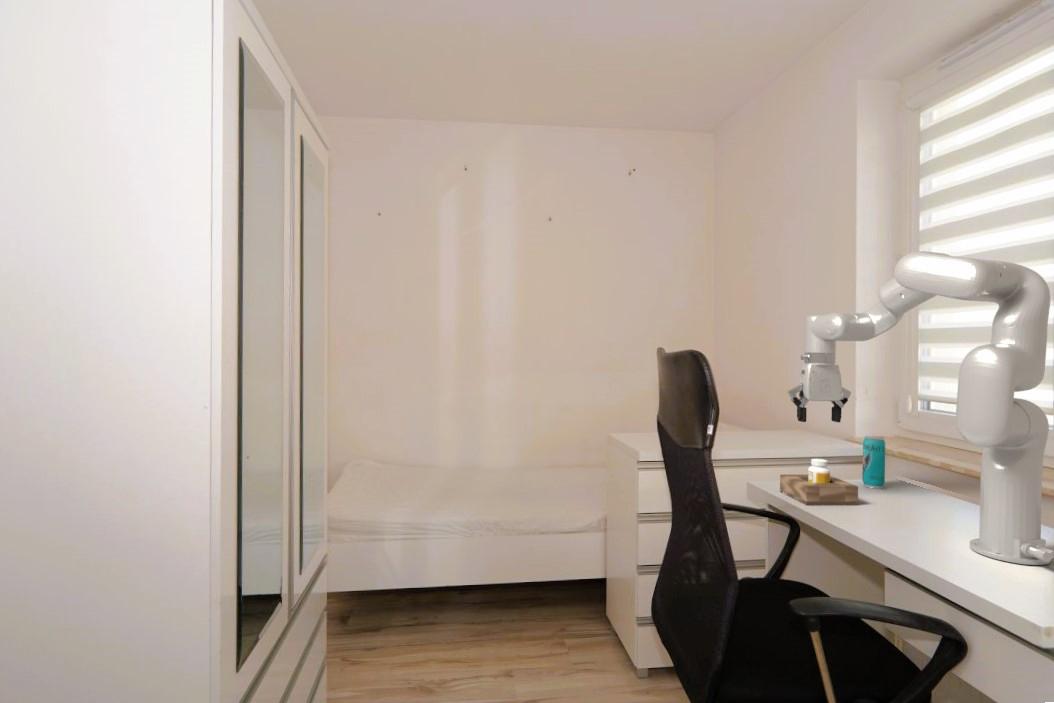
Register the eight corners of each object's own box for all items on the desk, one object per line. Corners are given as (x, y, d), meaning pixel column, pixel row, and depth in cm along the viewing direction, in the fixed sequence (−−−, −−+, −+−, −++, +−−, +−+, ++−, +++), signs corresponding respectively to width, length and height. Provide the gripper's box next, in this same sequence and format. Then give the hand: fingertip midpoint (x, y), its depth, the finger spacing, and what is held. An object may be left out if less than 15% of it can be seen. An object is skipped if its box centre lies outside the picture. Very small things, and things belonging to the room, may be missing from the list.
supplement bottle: (804, 494, 158) (804, 459, 158) (813, 491, 162) (813, 457, 162) (824, 498, 154) (824, 462, 154) (832, 495, 157) (833, 460, 157)
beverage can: (858, 484, 175) (859, 435, 175) (877, 484, 175) (878, 435, 175) (868, 489, 170) (869, 438, 169) (888, 489, 169) (889, 438, 169)
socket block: (857, 505, 151) (858, 486, 151) (806, 505, 151) (806, 486, 150) (827, 491, 165) (827, 474, 165) (780, 491, 164) (780, 474, 164)
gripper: (796, 359, 153) (795, 423, 153) (858, 360, 154) (857, 423, 154) (782, 358, 161) (781, 419, 161) (842, 359, 162) (841, 420, 162)
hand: (818, 421), depth 158 cm, fingers open, 9 cm apart
